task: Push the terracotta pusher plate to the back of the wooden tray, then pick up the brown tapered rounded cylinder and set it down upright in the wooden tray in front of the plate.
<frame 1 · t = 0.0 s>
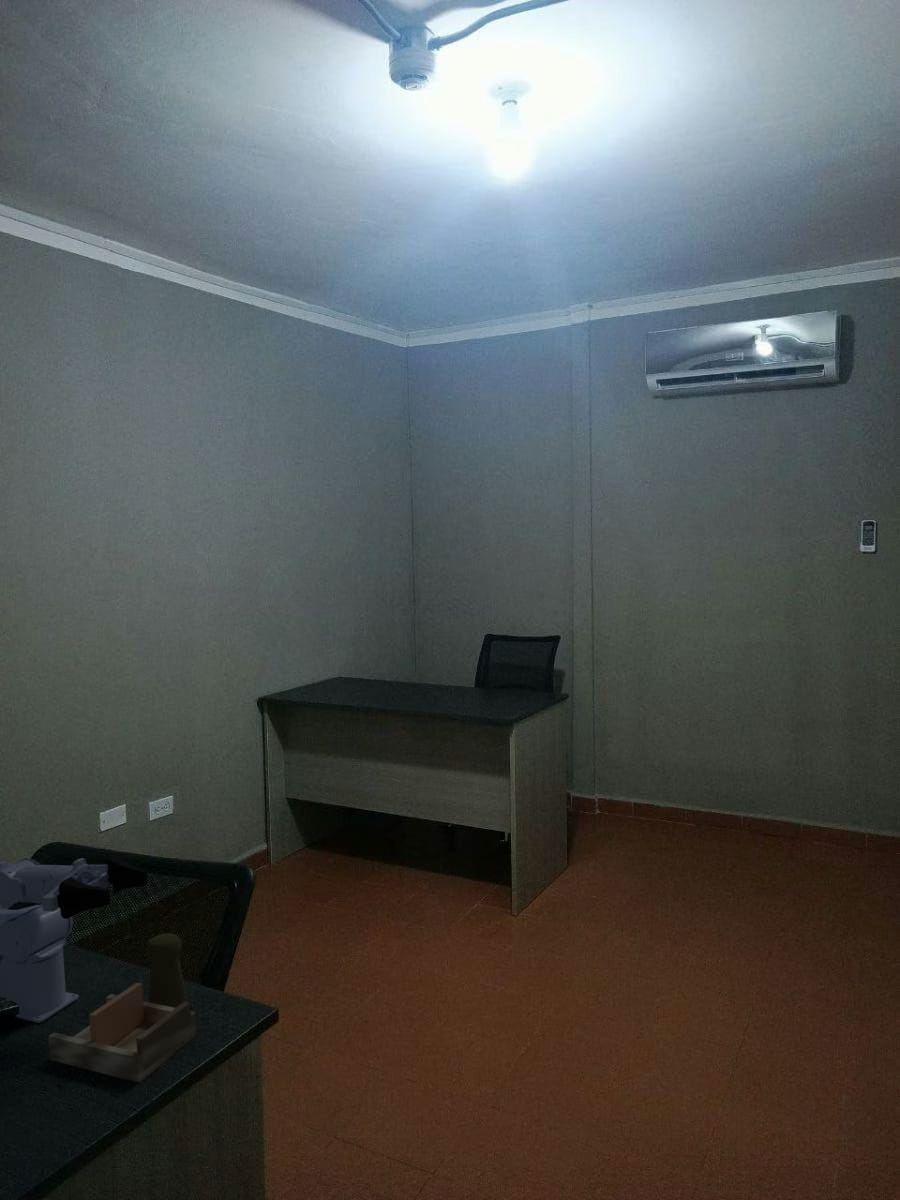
hand: (127, 887, 130), 22 cm above the table, tool horizontal, fingers open, 7 cm apart
lane pusher: (117, 1018, 127), point 4 cm above the table, slide at 0.0 cm
wooden tray: (124, 1047, 127), on the table
brown tapered rounded cylinder: (167, 1006, 138), on the table
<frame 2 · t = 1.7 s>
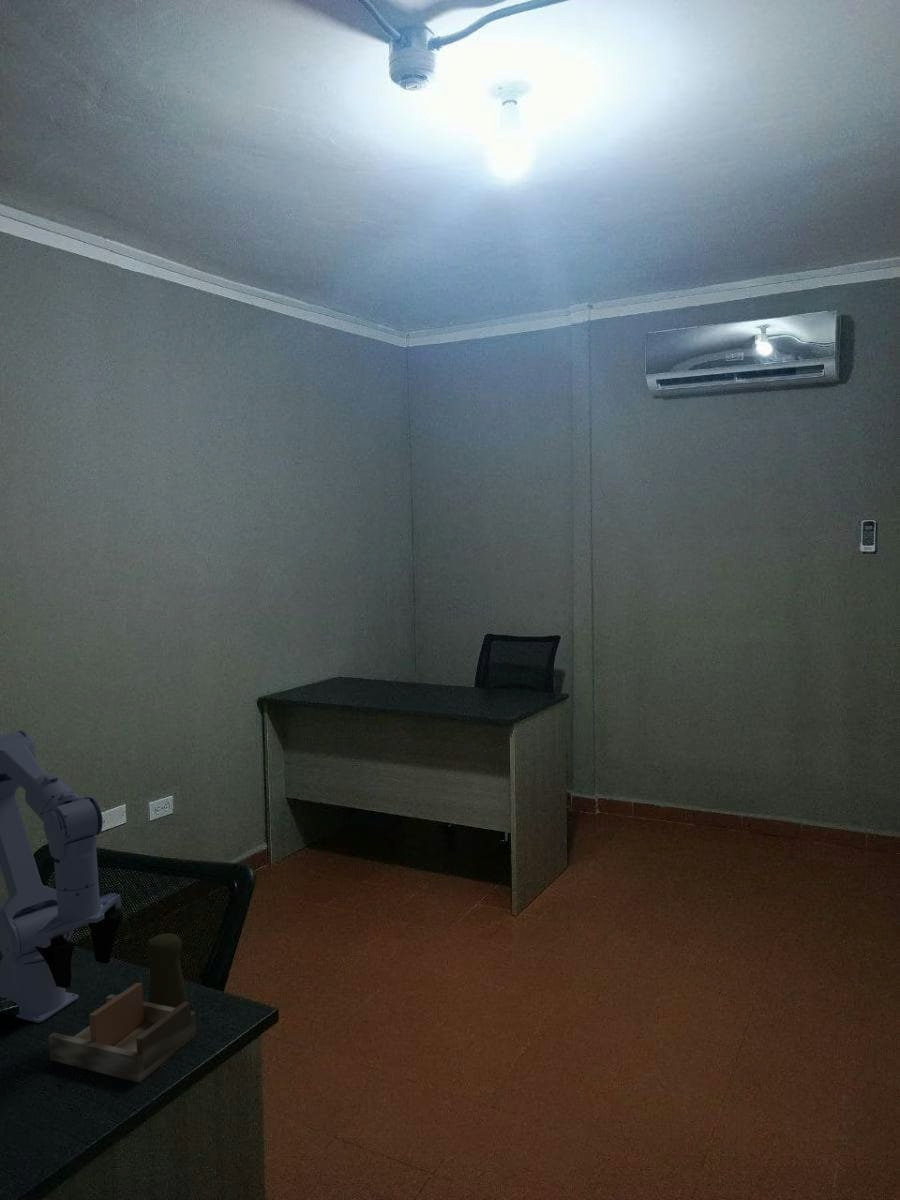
hand: (83, 973, 129), 10 cm above the table, tool pointing down, fingers open, 7 cm apart
nothing on the table moved.
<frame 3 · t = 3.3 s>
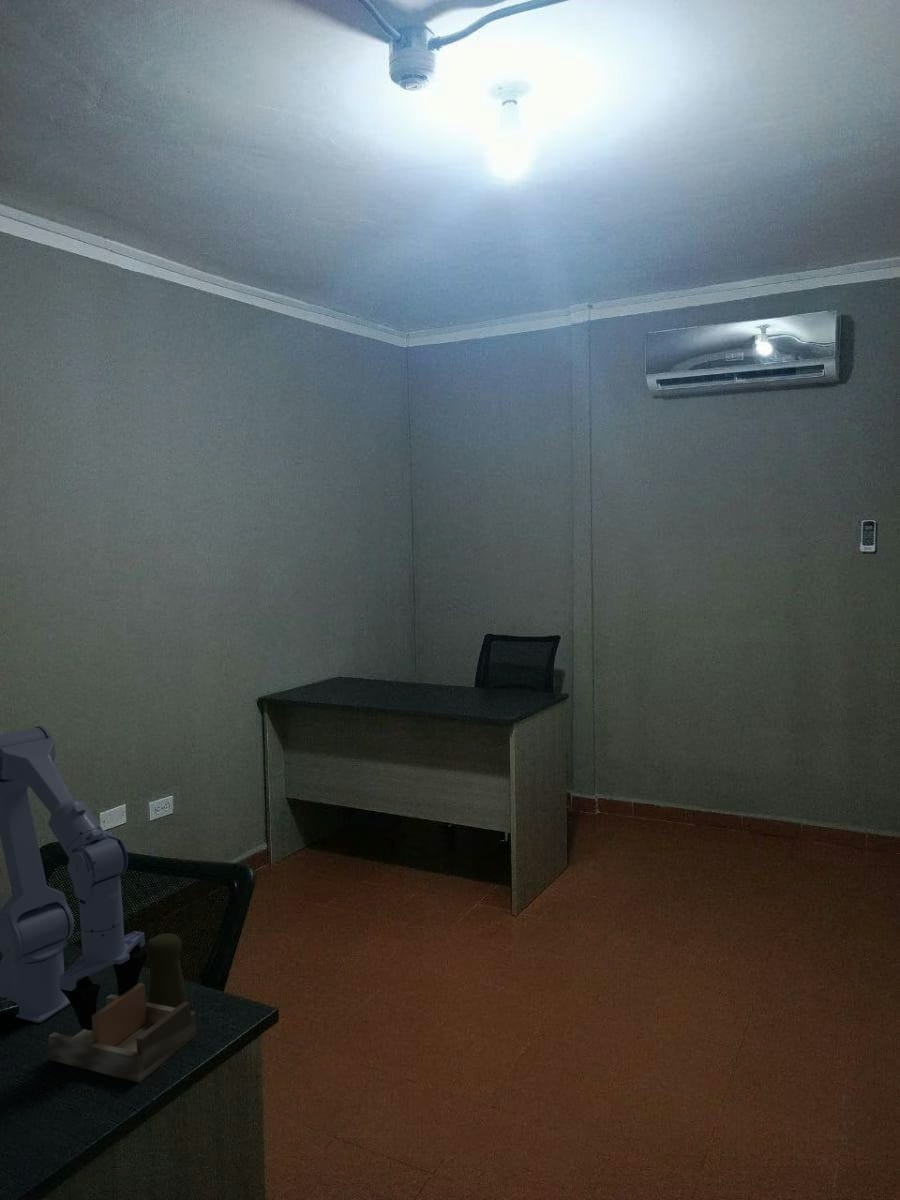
hand: (108, 1014, 127), 4 cm above the table, tool pointing down
lane pusher: (120, 1018, 127), point 4 cm above the table, slide at 0.5 cm, touching gripper
everything else where it was.
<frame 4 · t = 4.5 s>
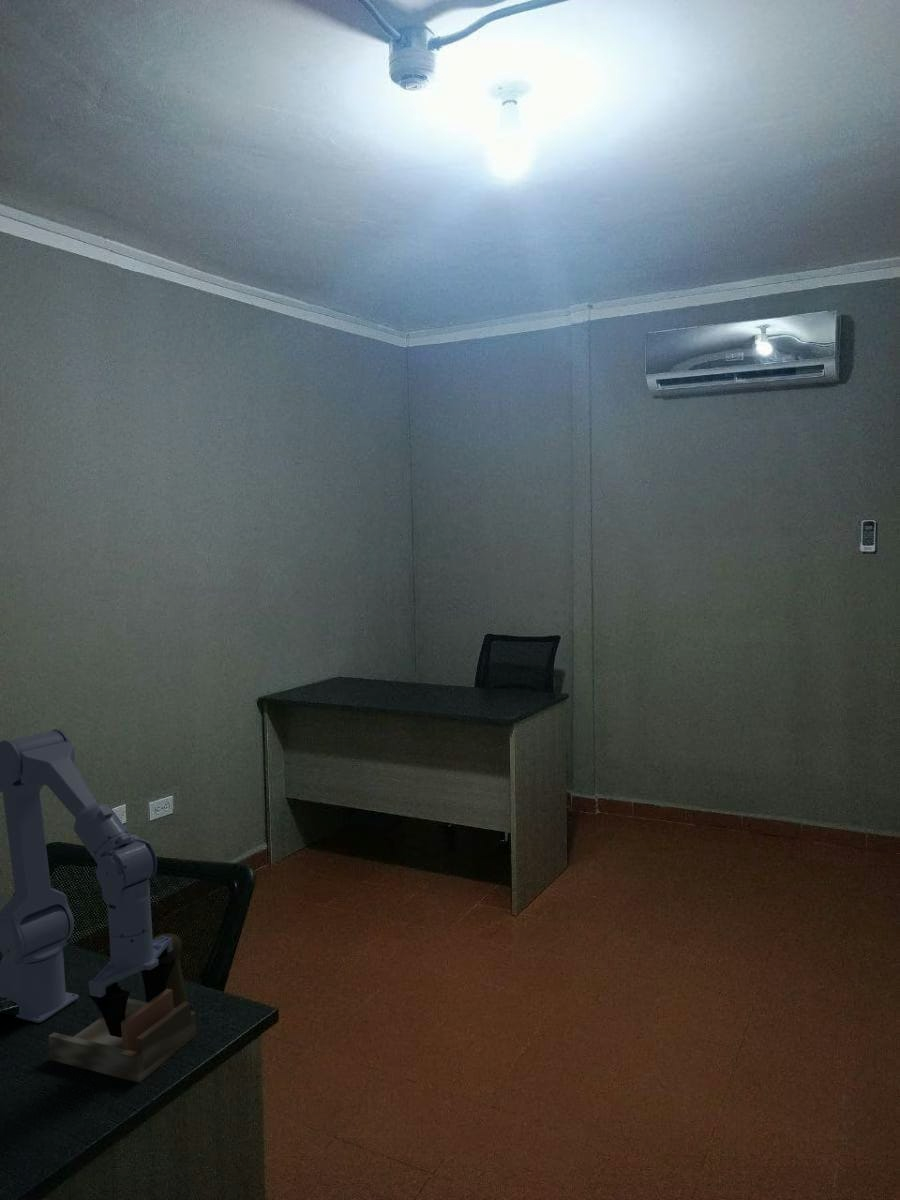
hand: (136, 1020, 125), 4 cm above the table, tool pointing down
lane pusher: (148, 1025, 125), point 4 cm above the table, slide at 5.7 cm, touching gripper
everything else where it was.
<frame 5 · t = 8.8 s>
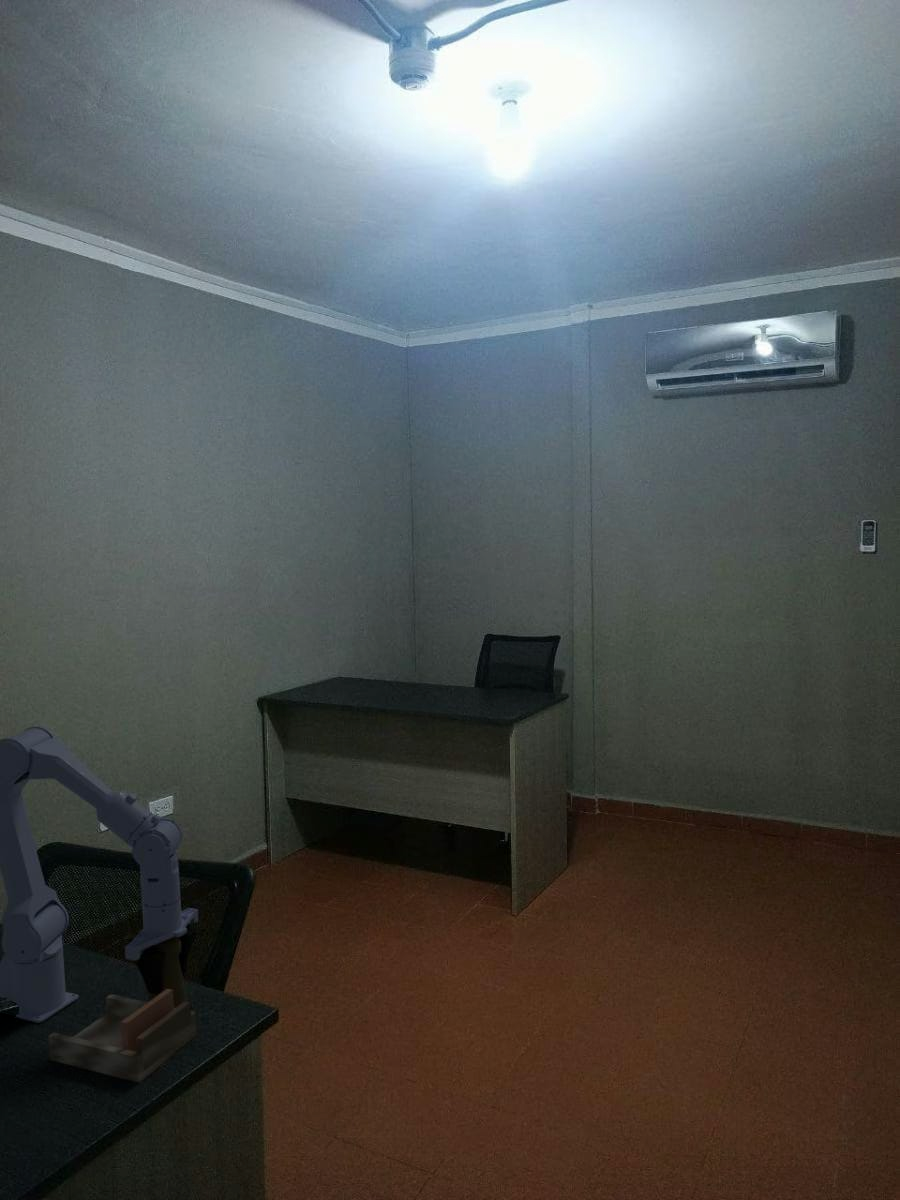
hand: (166, 983, 138), 3 cm above the table, tool pointing down, fingers closed on brown tapered rounded cylinder, 5 cm apart
lane pusher: (148, 1025, 125), point 4 cm above the table, slide at 5.7 cm
brown tapered rounded cylinder: (167, 1006, 138), on the table, touching gripper
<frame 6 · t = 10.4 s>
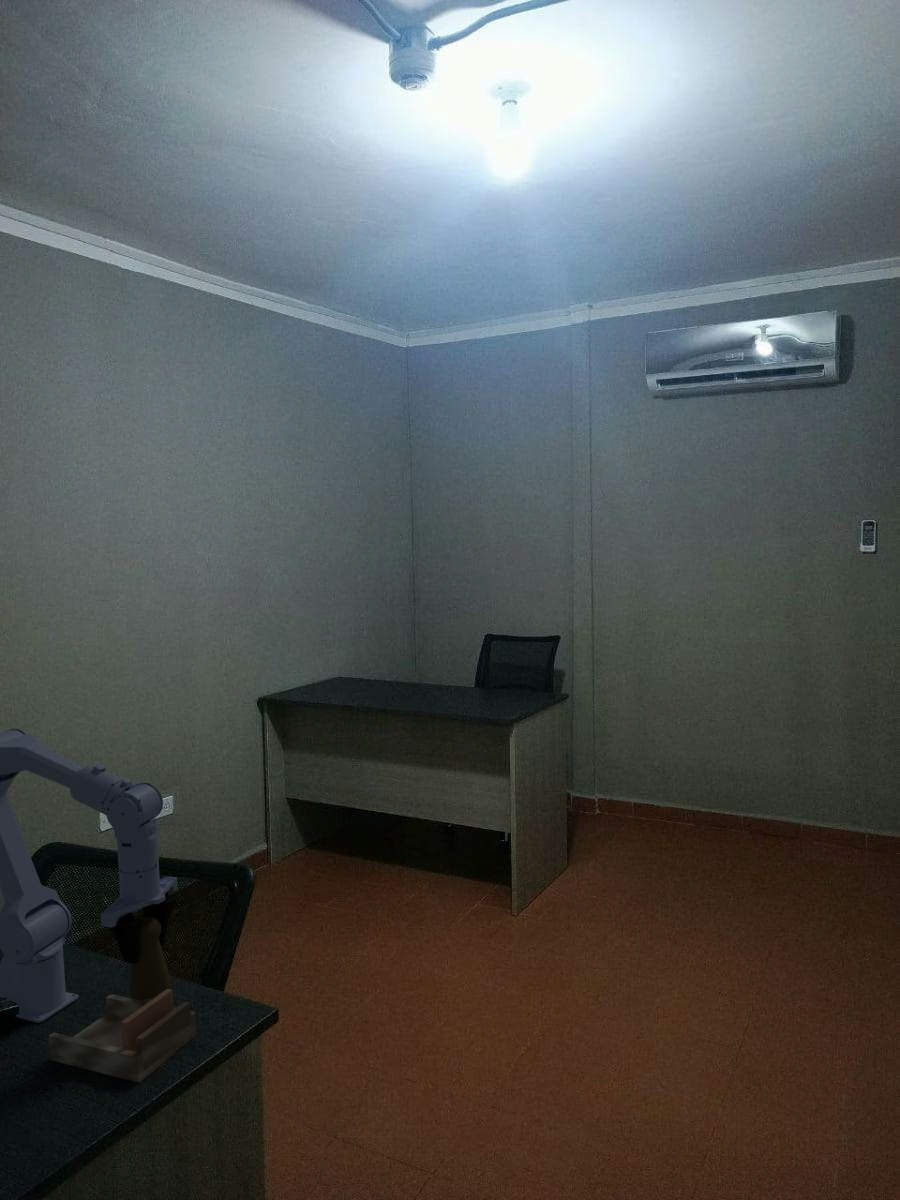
hand: (144, 953, 133), 10 cm above the table, tool pointing down, fingers closed on brown tapered rounded cylinder, 5 cm apart
brown tapered rounded cylinder: (151, 990, 134), point 4 cm above the table, touching gripper
everything else where it was.
when the fingers open (6 cm above the table, at t = 12.2 s): brown tapered rounded cylinder stays where it is, resting on wooden tray.
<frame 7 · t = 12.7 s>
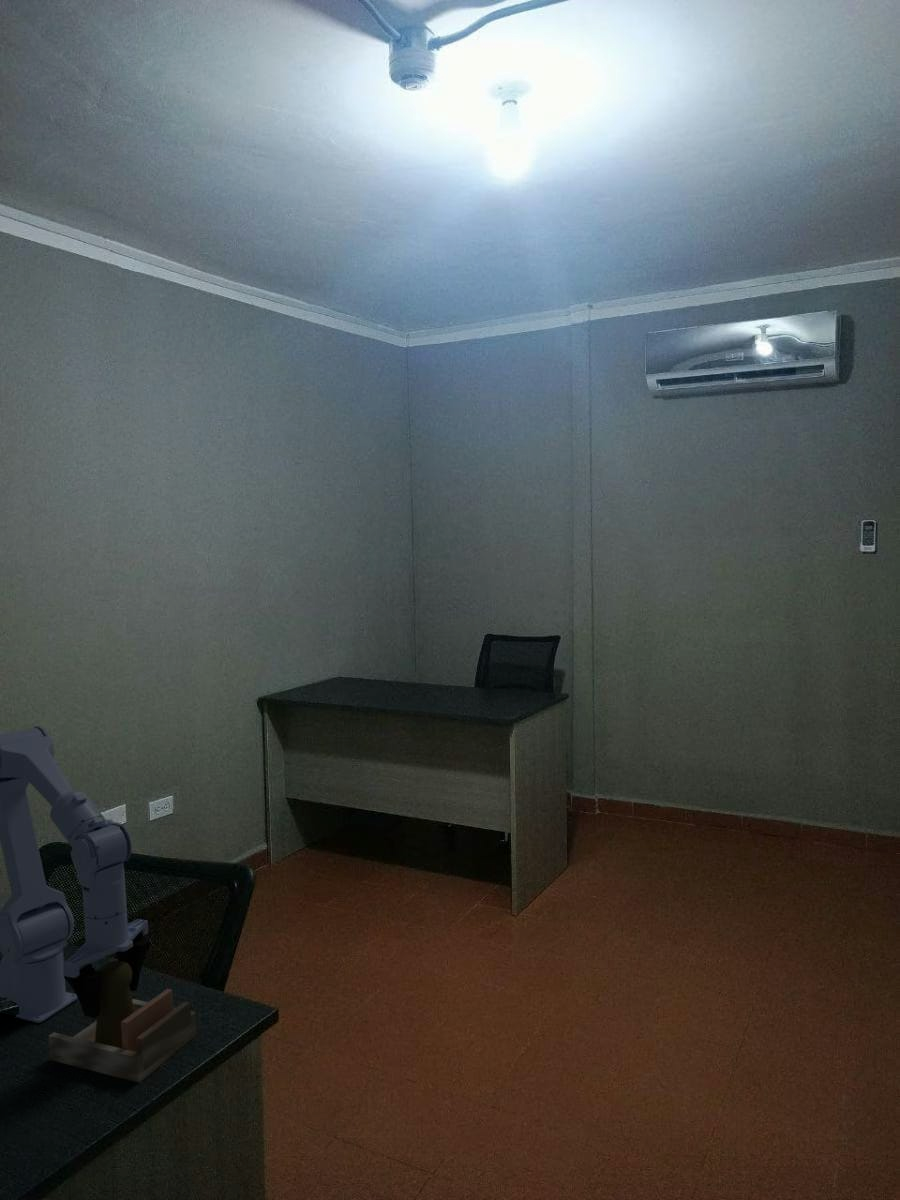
hand: (111, 1002, 127), 6 cm above the table, tool pointing down, fingers open, 7 cm apart
brown tapered rounded cylinder: (117, 1040, 127), point 1 cm above the table, touching wooden tray
everything else where it was.
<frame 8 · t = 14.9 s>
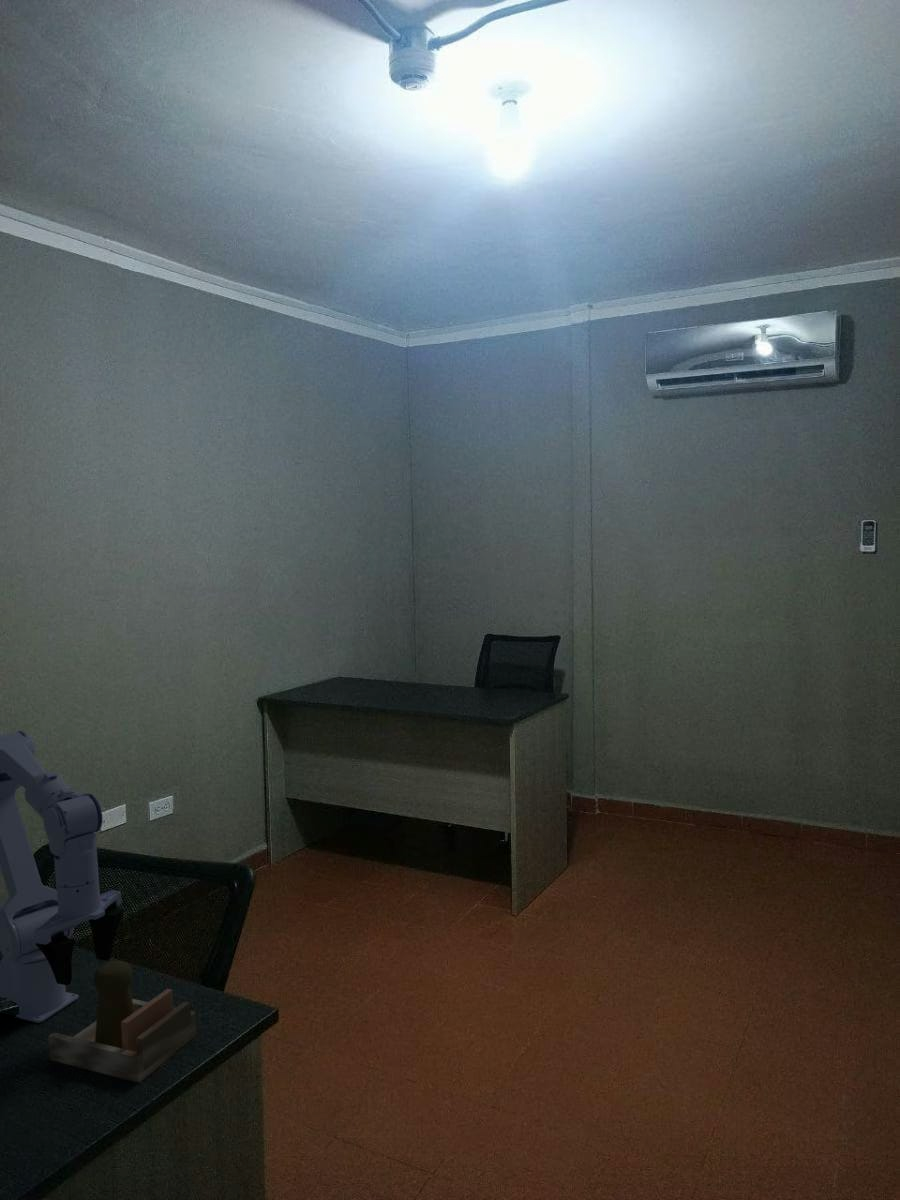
hand: (84, 970, 128), 10 cm above the table, tool pointing down, fingers open, 7 cm apart
nothing on the table moved.
at the end: brown tapered rounded cylinder 0.6 cm from the target spot on the wooden tray, point 0.8 cm above the wooden tray's base; lane pusher slide at 5.7 cm; brown tapered rounded cylinder tilted 0° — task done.
